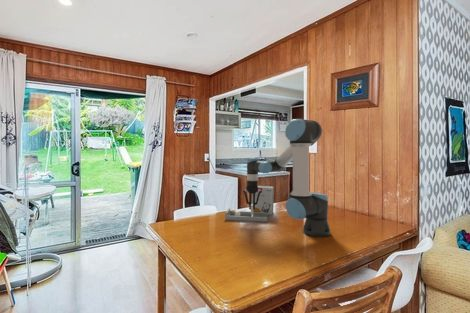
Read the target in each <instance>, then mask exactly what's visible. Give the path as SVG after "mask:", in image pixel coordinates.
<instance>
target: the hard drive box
mask: <svg viewBox="0 0 470 313" xmlns="http://www.w3.org/2000/svg"><path fill="white" fill-rule="evenodd" d="M258 188H259V190H261V193H260V196H259V200H258V203H257V204H256V205H255V210H253V212H267V213H268V215H270V216H272V215H273V214H274V204H275V203H274V200H275V198H274V196H275V187H274V186H268V185H258ZM257 196H258V191H257V192H256V193H255V202H256V200H257ZM251 204H253V194H251Z"/></svg>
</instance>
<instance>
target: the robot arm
mask: <svg viewBox="0 0 470 313" xmlns="http://www.w3.org/2000/svg"><path fill="white" fill-rule="evenodd" d="M322 133H323V128H322V126H321V124H320V123H319V122H318V121H316V120H314V119H311V120H310V119H304V118H295V119H294V118H293V119H292V120H290V121H289V122H288V124H287V125H286V126H285V131H284V134H285V137H286V138H287V140H288V141H289V145H290V146H288V147H287V148H286V149H285V150H284V151H283V152H282V153H281V154H280V155H279V156H277V158H275V159H274V160H269V161H268V160H264V161H263V160H262V161H261V160H259V158H258V157H248V158H247V160H246V161H247V162H246V187H245V189H243V190H242V192H243V194H244V197H245V202H246V204H247V205H248V209H249V210H250V212H251V215H253V210H255V205H256V204H257V203H258V200H259V196H260V193H261V190H259V188H258V186H259V181H258V179H259V177H258V176H259V173H260V174H269V173H281V172H284V171H285V169H286V166H287V165H288V164H289V163H290V162H292V190H291V192H290V193H289V199H287V201H286V202H285V210H286V213H287V214H288V215H289V217H290V218H292V219H294V220H304V219H305V221H304V225H303V228H302V232H303V233H304V234H306V235H307V236H311V237H317V238H323V237H328V236H329V237H330V236H331V227H330V224H329V221H328V215H329V214H328V213H329V212H328V209H329V208H328V204H329V200H328V195H326V194H325V193H319V192H311V191H310V147H311V146H313V145H315V144H316V143H317V142H318V141H319V140H320V139H321V136H322ZM257 191H258V196H257V200H256V202H255V193H256V192H257ZM247 192H248V194H249V195H248V194H247ZM252 194H253V204H252ZM248 196H249V197H248Z"/></svg>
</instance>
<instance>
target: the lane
mask: <svg viewBox="0 0 470 313" xmlns="http://www.w3.org/2000/svg"><path fill="white" fill-rule="evenodd" d="M236 211H237V210H231V208H230V207H229V208H228V209H226V211H225V216H224V217H225V218H224V220H225V221H231V222H232V221H233V222H248V223H249V222H250V223H251V222H252V223H268V217H269V216H268V213H267V212H253V215H251V211H240V210H238V211H239V212H240V216H235V212H236Z"/></svg>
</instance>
